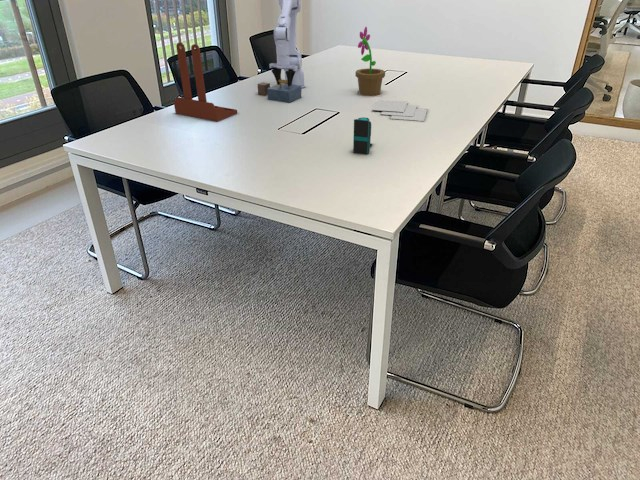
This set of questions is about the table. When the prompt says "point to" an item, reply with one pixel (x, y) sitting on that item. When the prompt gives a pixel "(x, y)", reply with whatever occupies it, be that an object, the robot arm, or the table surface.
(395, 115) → the paper stack
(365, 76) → the flowerpot
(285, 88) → the lid
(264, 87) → the walnut block
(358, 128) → the black teal block
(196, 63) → the hanging shelf
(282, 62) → the robot arm
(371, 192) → the table surface
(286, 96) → the tin box
